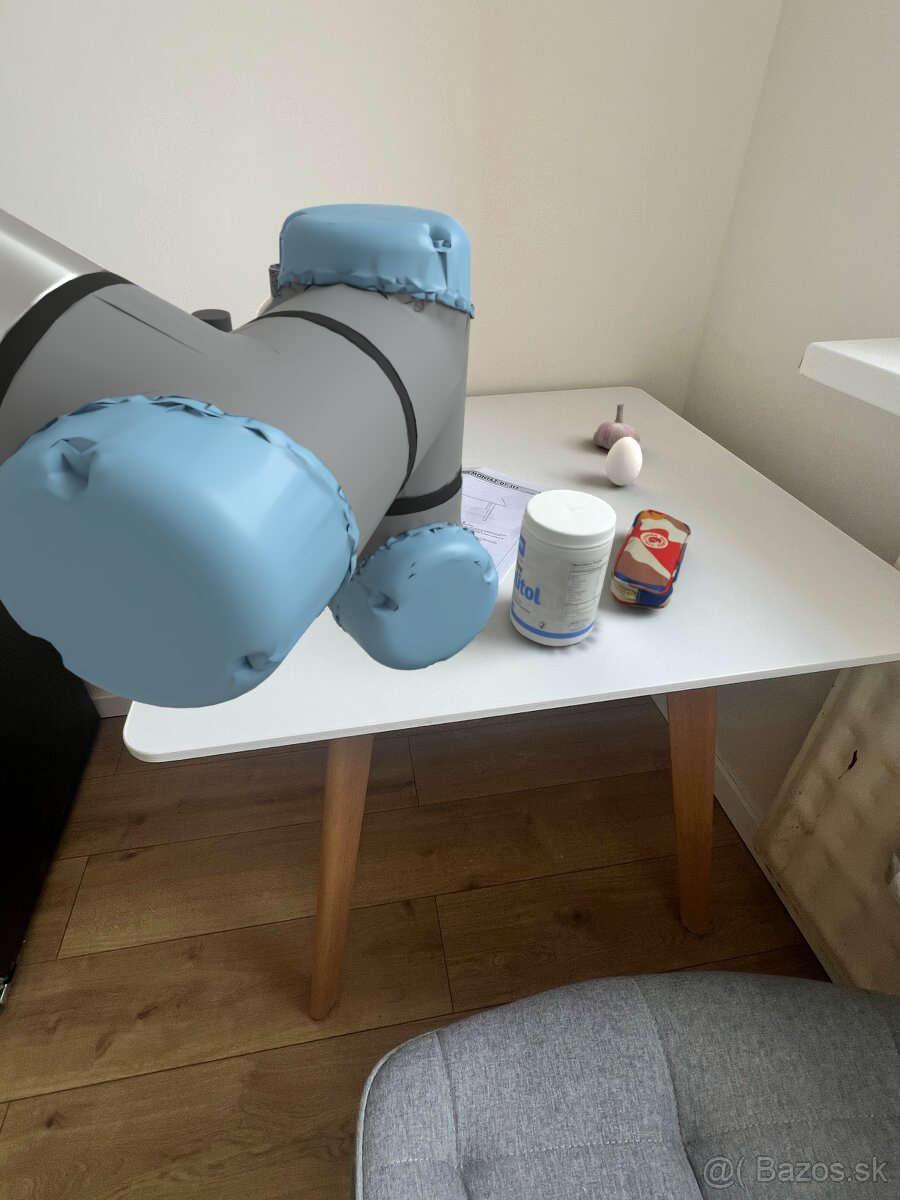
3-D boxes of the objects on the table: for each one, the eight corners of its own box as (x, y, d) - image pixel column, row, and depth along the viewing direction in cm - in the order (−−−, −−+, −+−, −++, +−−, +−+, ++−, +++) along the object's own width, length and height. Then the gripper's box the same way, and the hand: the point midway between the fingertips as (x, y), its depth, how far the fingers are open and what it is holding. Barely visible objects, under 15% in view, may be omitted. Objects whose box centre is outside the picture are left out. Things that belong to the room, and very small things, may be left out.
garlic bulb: (584, 443, 120) (591, 398, 116) (616, 436, 123) (625, 392, 119) (612, 460, 115) (621, 414, 110) (645, 453, 118) (656, 407, 113)
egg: (626, 474, 111) (635, 429, 107) (643, 490, 107) (653, 443, 103) (596, 478, 110) (604, 432, 105) (612, 493, 106) (621, 446, 101)
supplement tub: (492, 613, 80) (503, 500, 72) (555, 589, 85) (573, 480, 76) (546, 661, 74) (565, 543, 65) (611, 633, 78) (637, 518, 70)
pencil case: (716, 557, 92) (727, 524, 89) (653, 628, 79) (663, 592, 76) (639, 529, 97) (647, 497, 94) (569, 590, 85) (575, 556, 82)
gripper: (189, 567, 41) (111, 426, 57) (424, 506, 48) (296, 396, 64) (162, 448, 36) (86, 331, 52) (425, 400, 43) (288, 309, 59)
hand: (201, 367), depth 58 cm, fingers closed on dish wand, 3 cm apart
